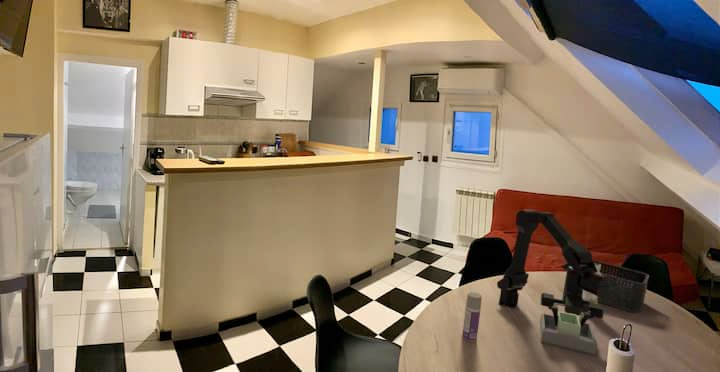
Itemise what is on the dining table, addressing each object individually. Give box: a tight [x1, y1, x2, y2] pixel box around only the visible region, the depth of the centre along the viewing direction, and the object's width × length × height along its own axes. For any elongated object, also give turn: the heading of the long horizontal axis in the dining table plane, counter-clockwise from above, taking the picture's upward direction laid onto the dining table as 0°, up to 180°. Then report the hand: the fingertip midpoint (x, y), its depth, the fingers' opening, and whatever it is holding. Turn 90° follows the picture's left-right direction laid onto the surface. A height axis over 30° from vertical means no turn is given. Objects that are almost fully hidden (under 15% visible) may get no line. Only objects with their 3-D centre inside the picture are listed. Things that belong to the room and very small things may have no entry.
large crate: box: [539, 312, 598, 357], centre depth 141 cm, size 16×16×4 cm
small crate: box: [556, 310, 581, 339], centre depth 140 cm, size 6×9×5 cm
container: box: [461, 291, 483, 343], centre depth 135 cm, size 5×5×15 cm
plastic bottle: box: [582, 263, 601, 304], centre depth 163 cm, size 6×7×20 cm
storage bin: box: [580, 259, 650, 314], centre depth 182 cm, size 29×19×13 cm
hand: (567, 328), depth 141 cm, fingers closed on small crate, 6 cm apart
